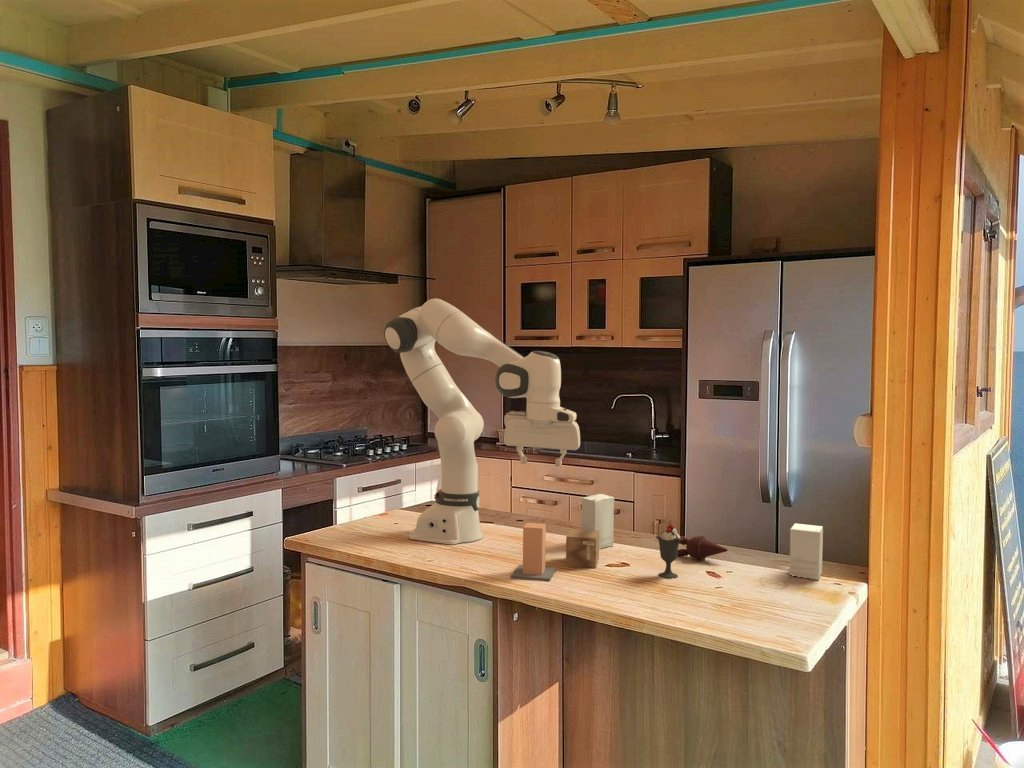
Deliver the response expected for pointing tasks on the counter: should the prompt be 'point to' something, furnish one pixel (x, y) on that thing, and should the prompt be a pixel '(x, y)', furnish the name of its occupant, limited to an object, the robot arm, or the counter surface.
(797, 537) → the supplement box
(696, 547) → the icecream
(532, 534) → the terracotta pillar
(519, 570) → the grey mat
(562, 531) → the counter surface
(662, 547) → the sundae
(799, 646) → the counter surface
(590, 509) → the skincare box
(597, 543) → the lettered block
